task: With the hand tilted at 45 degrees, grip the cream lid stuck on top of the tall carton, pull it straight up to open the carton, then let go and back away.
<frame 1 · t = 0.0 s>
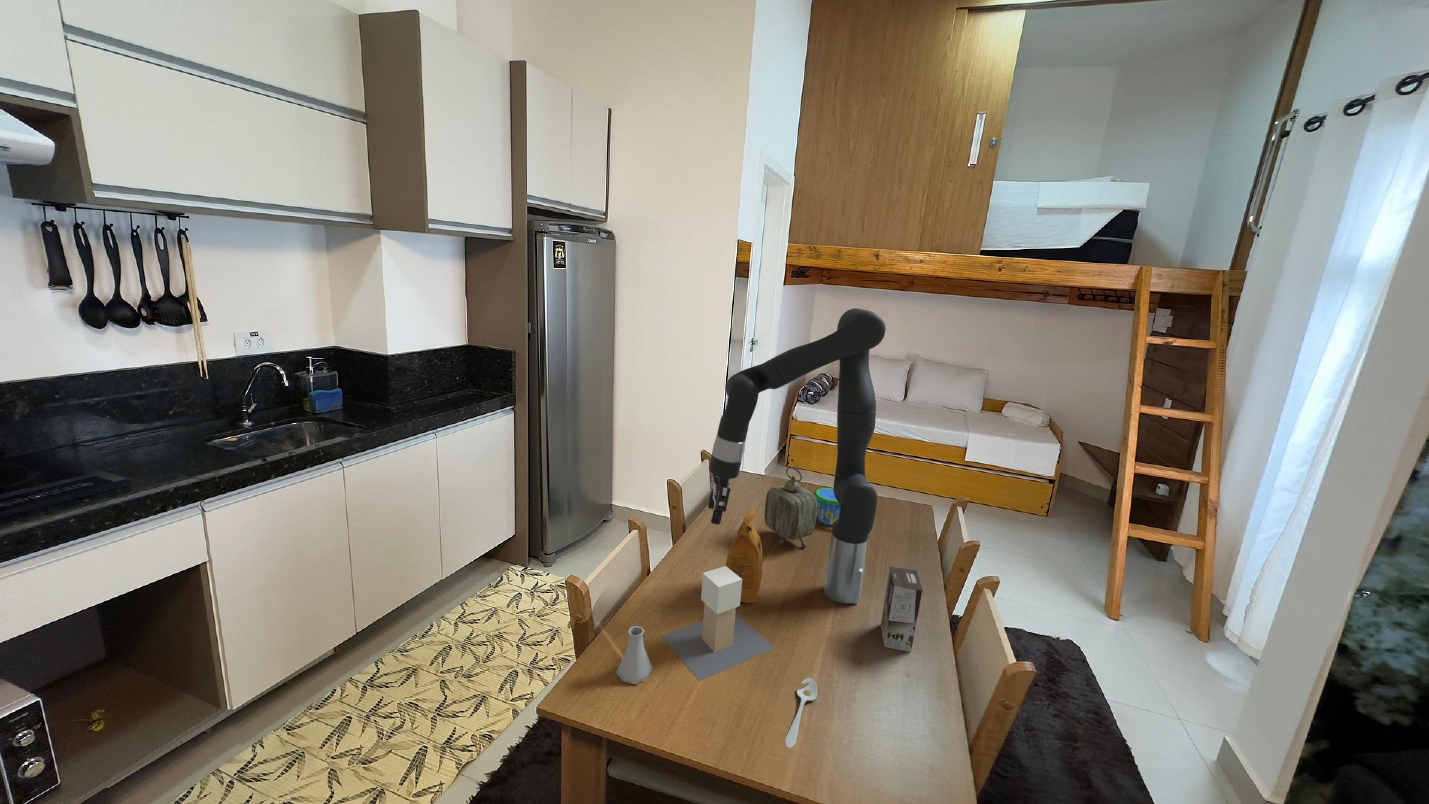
hand: (713, 515, 138), 22 cm above the table, tool pointing down, fingers open, 8 cm apart
snack cup: (828, 521, 190), on the table
flask: (634, 673, 115), on the table
coffee box: (895, 638, 132), on the table
lid: (721, 589, 122), point 14 cm above the table, slide at 0.0 cm
tabletop clock: (785, 543, 174), on the table
spoon: (798, 719, 107), on the table
coffee package: (741, 592, 146), on the table
carton: (717, 641, 125), resting on mat
mat: (717, 644, 125), on the table
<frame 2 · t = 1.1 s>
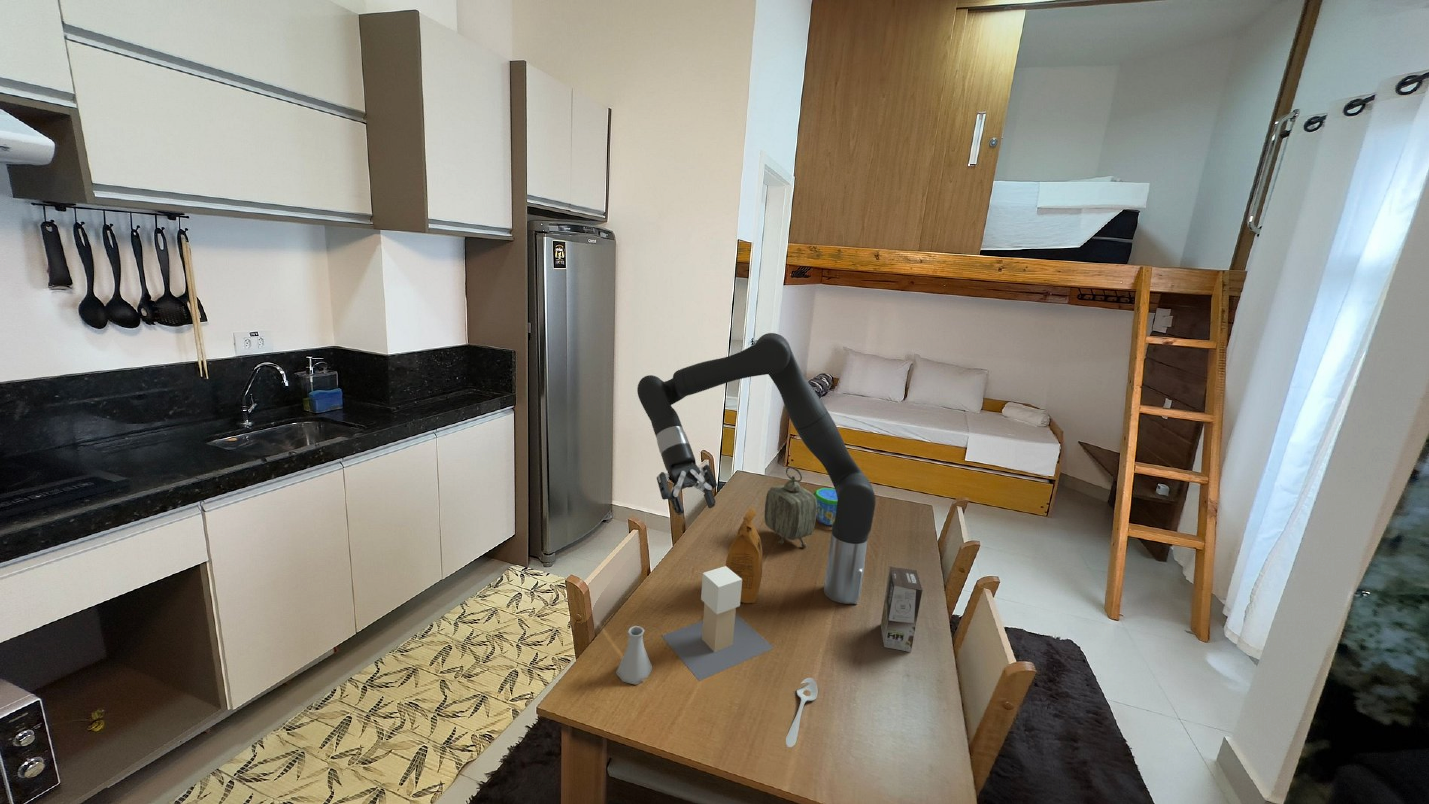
hand: (697, 510, 130), 27 cm above the table, tool tilted 45°, fingers open, 8 cm apart
nothing on the table moved.
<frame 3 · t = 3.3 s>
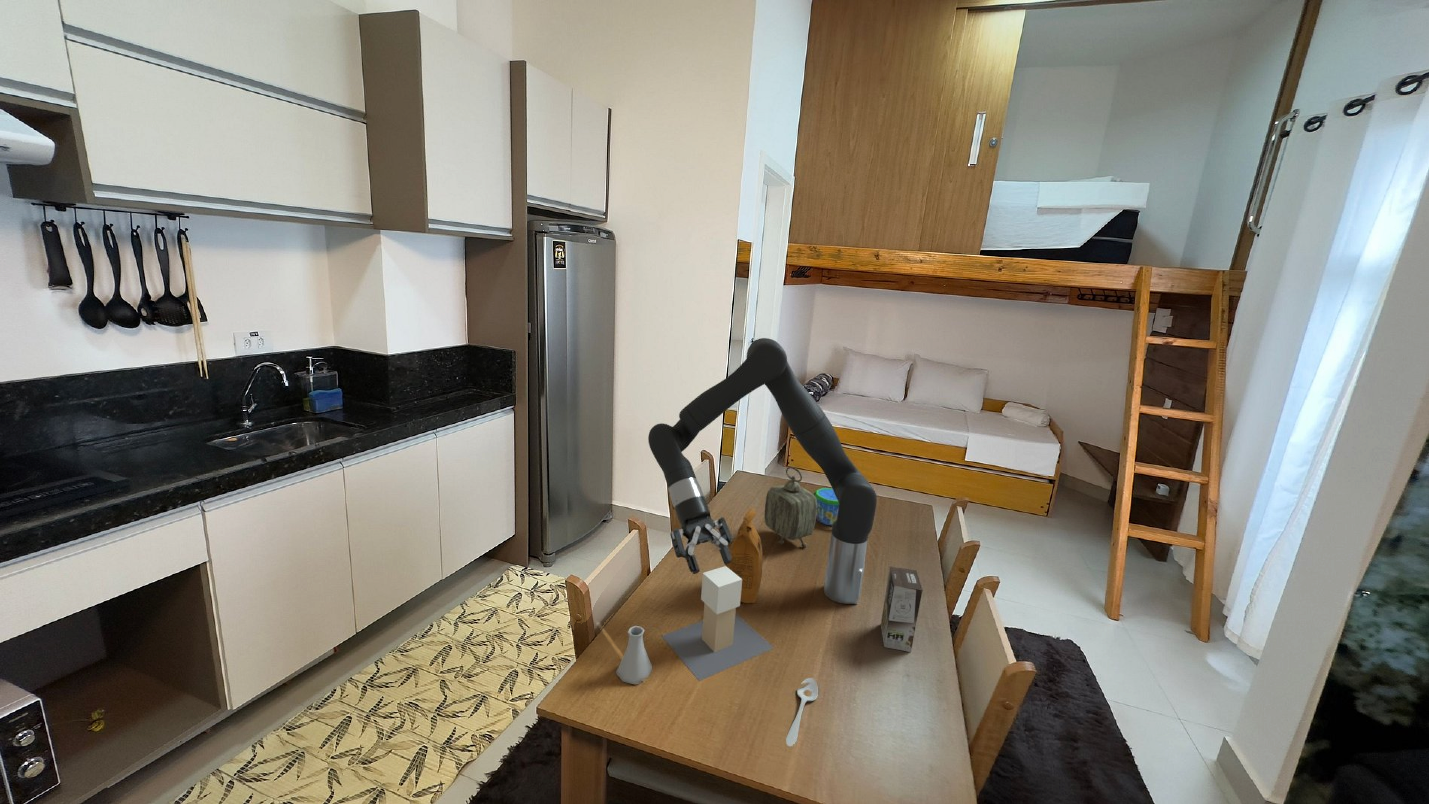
hand: (712, 568, 124), 17 cm above the table, tool tilted 45°, fingers open, 8 cm apart
nothing on the table moved.
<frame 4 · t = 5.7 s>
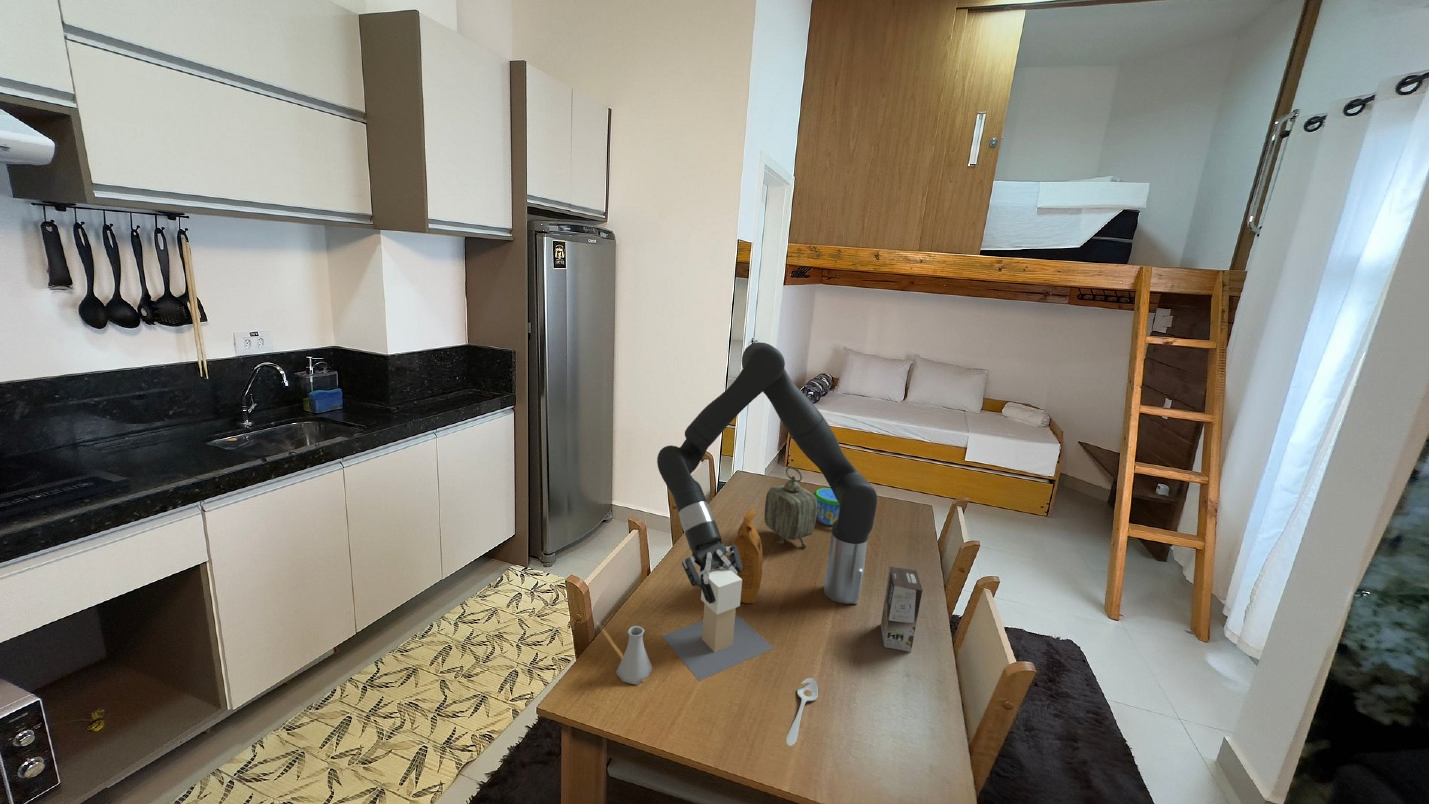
hand: (725, 597, 121), 13 cm above the table, tool tilted 45°, fingers closed on lid, 6 cm apart
lid: (721, 589, 122), point 14 cm above the table, slide at 0.0 cm, touching gripper
everything else where it was.
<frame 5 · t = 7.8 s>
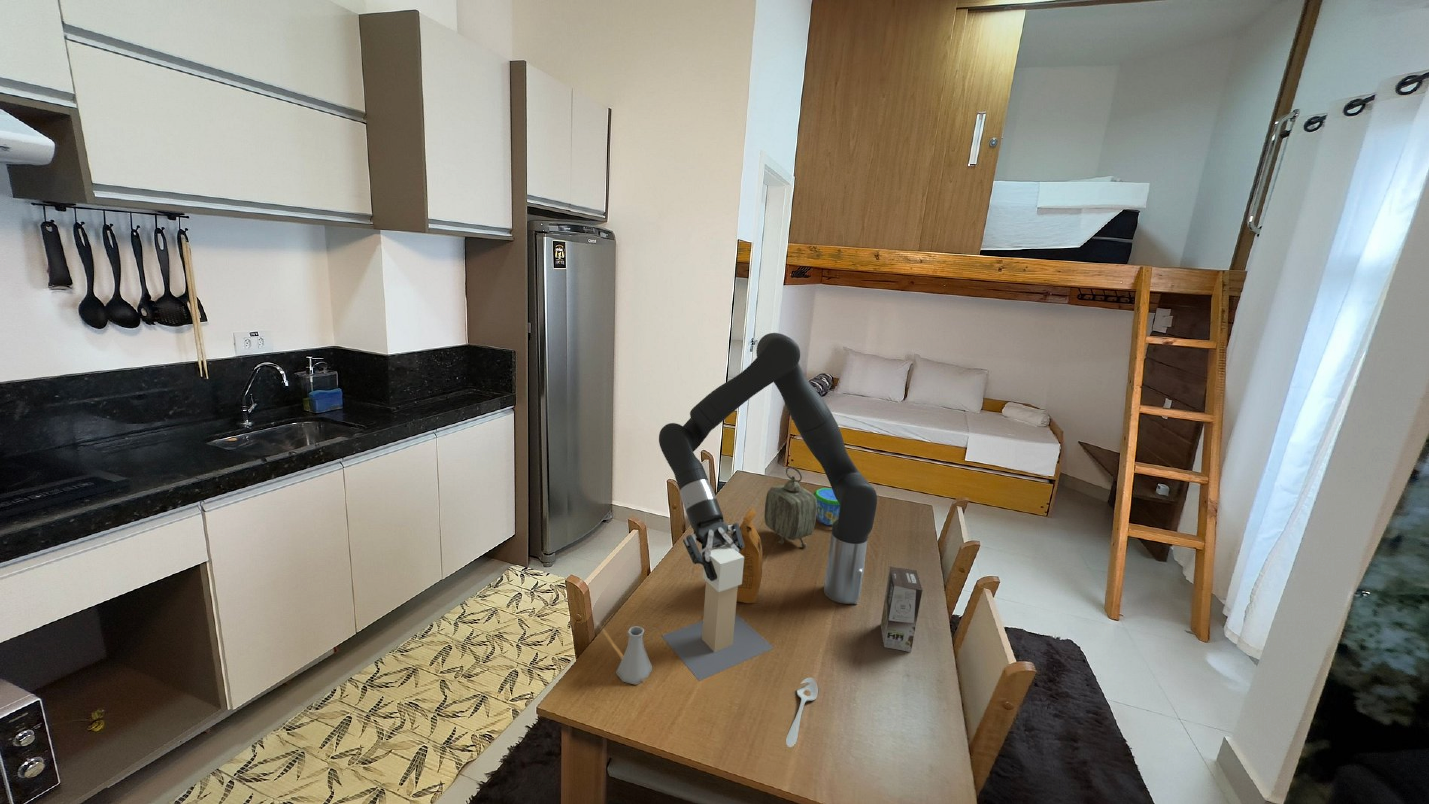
hand: (727, 575, 120), 18 cm above the table, tool tilted 45°, fingers closed on lid, 6 cm apart
lid: (723, 567, 121), point 19 cm above the table, slide at 5.4 cm, touching gripper
everything else where it was.
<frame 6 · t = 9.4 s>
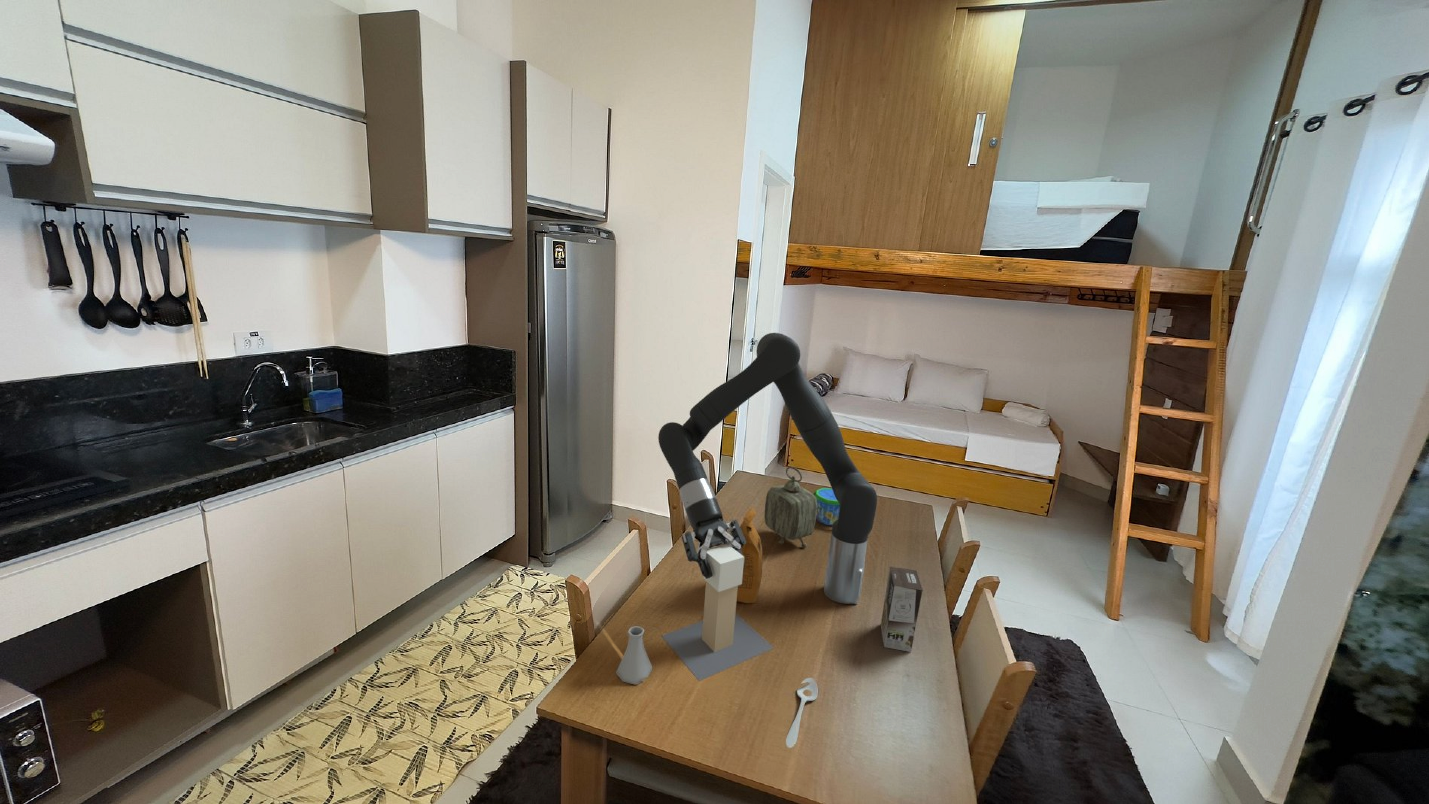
hand: (726, 572, 120), 19 cm above the table, tool tilted 45°, fingers open, 8 cm apart
lid: (723, 567, 121), point 19 cm above the table, slide at 5.4 cm
everything else where it was.
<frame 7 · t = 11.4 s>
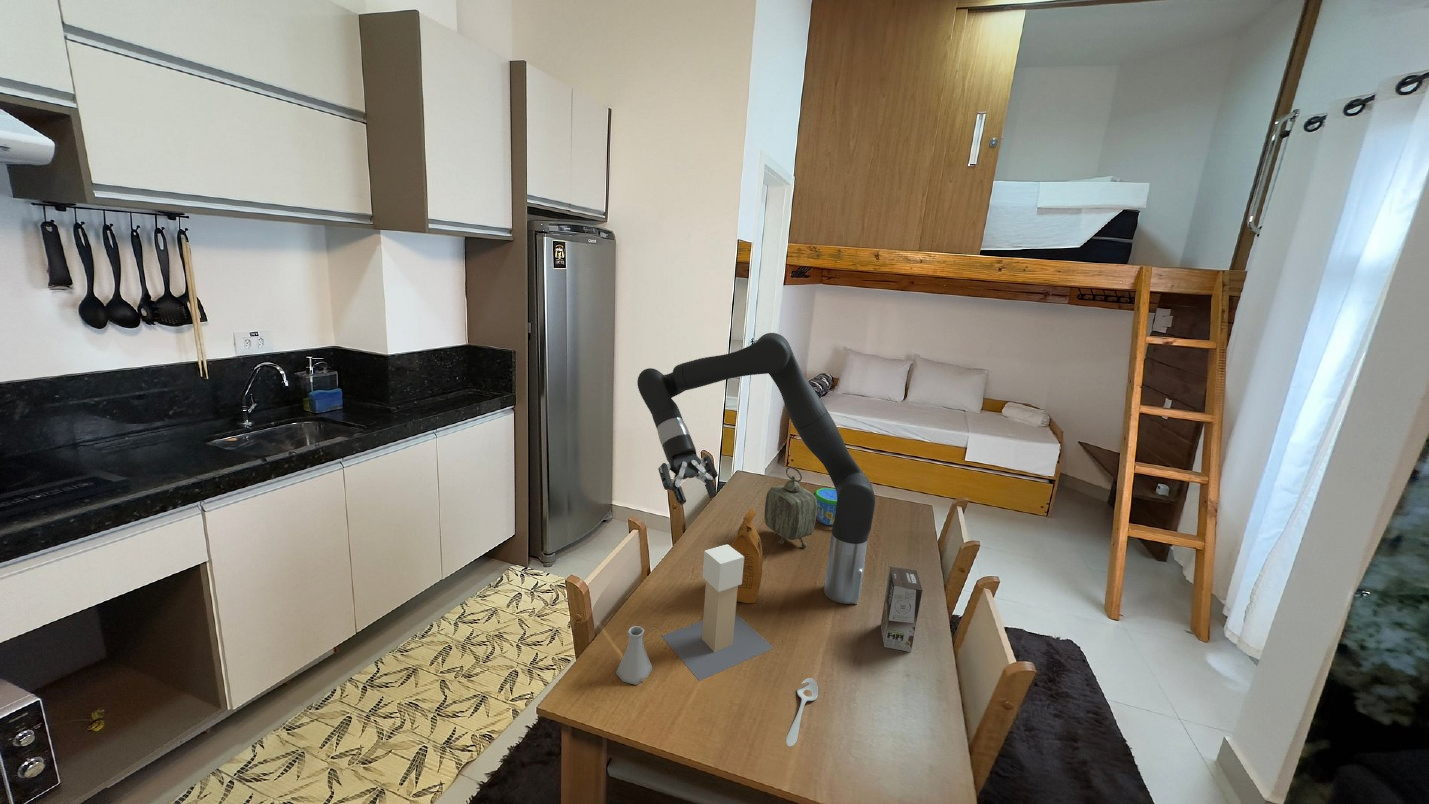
hand: (698, 500, 132), 29 cm above the table, tool tilted 45°, fingers open, 8 cm apart
nothing on the table moved.
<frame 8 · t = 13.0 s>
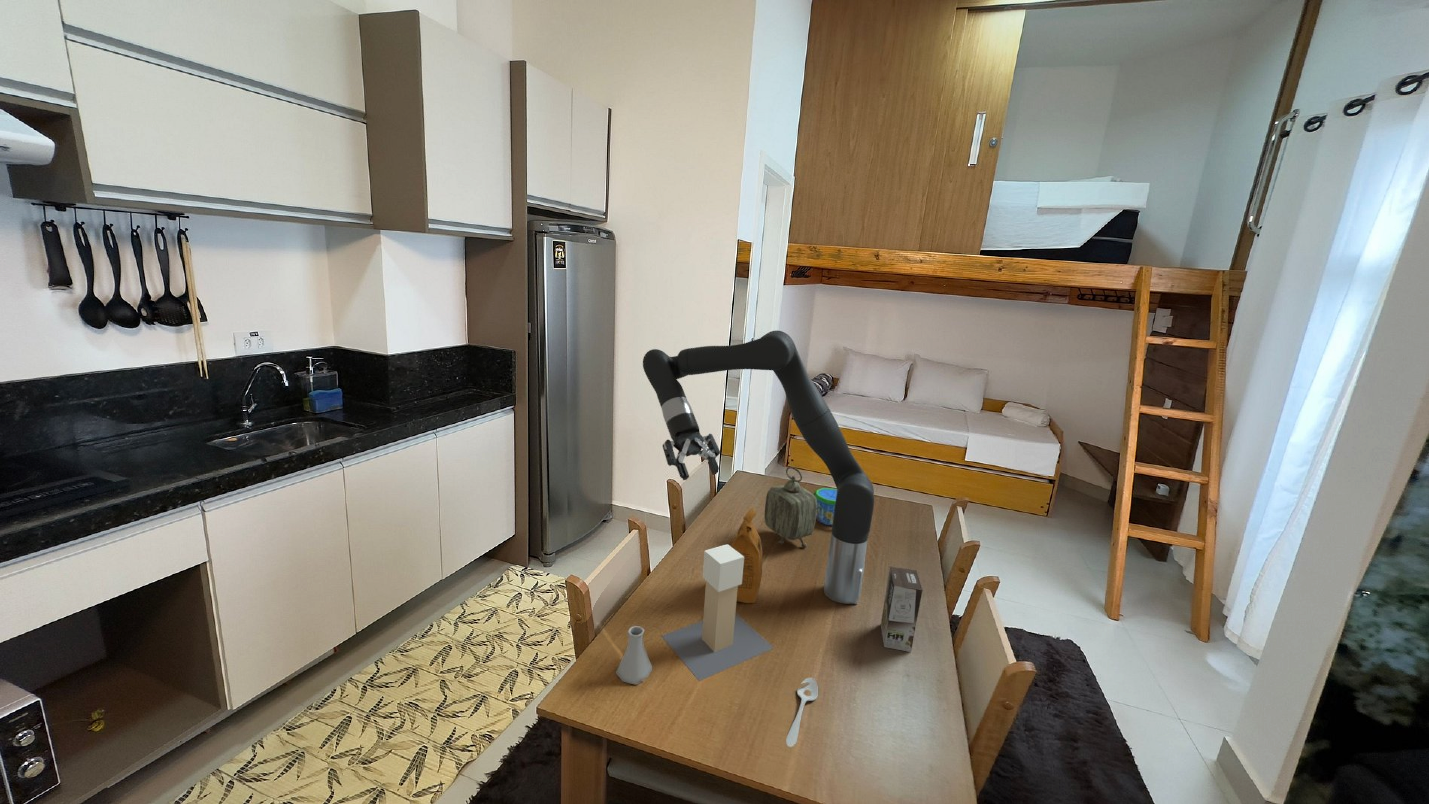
hand: (701, 476, 136), 33 cm above the table, tool tilted 45°, fingers open, 8 cm apart
nothing on the table moved.
at the end: lid slide at 5.4 cm; the gripper is holding nothing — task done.
